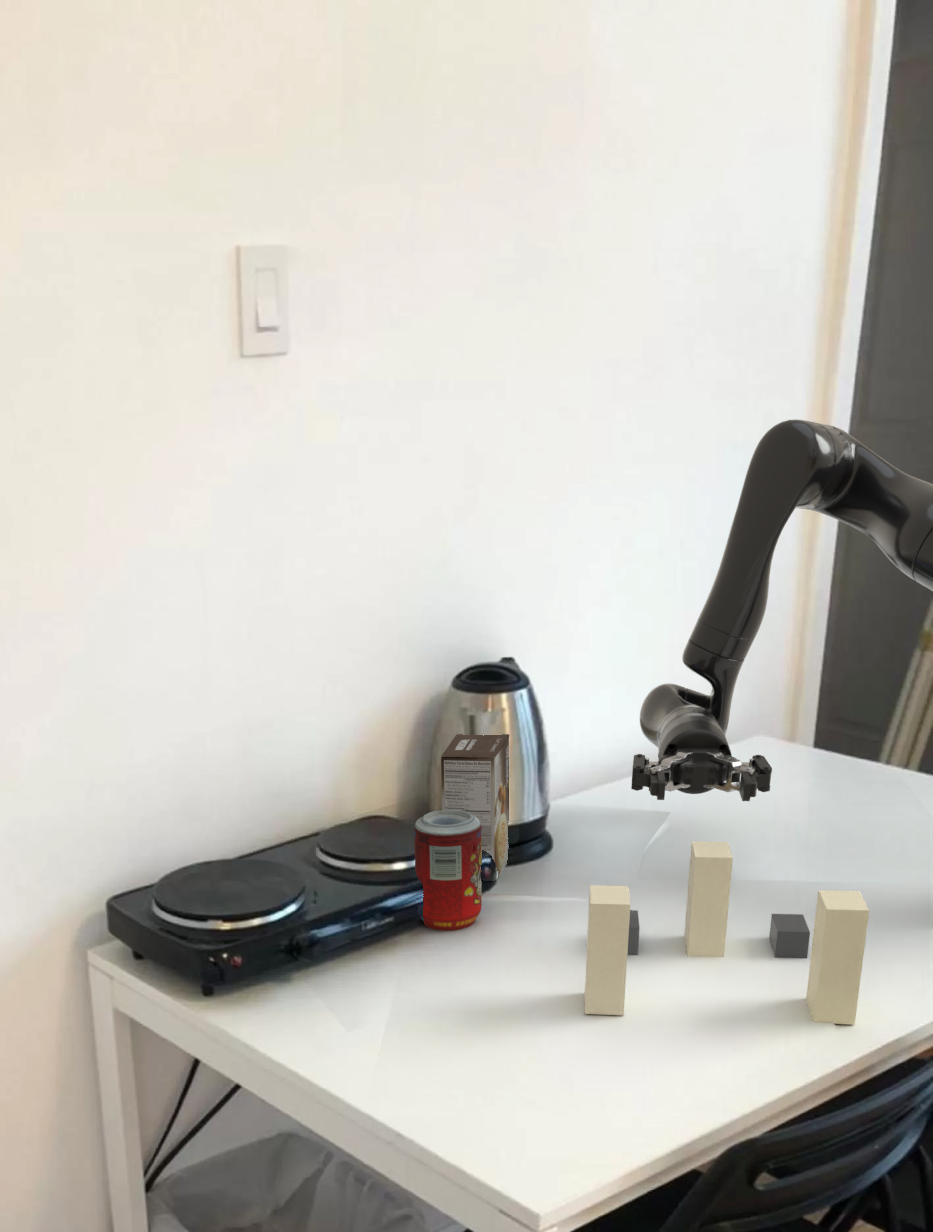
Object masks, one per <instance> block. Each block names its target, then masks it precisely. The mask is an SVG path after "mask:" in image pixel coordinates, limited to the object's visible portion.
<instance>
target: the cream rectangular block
mask: <svg viewBox="0 0 933 1232" xmlns="http://www.w3.org/2000/svg"><path fill="white" fill-rule="evenodd" d="M588 894H589V895H588V913H587V931H586V932H587V935H586V937H587V938H586V955H585V974H584V1014H585V1015H601V1016H602V1015H605V1016H625V1000H626V999H625V997H626V985H627V984H626V983H627V982H626V981H627V966H628V955H627V952H628V935H629V919H630V910H631V897H630V896H631V895H630V888H629V885H595V884H594V885H589V893H588Z"/></svg>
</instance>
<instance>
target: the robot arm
mask: <svg viewBox="0 0 933 1232" xmlns="http://www.w3.org/2000/svg"><path fill="white" fill-rule="evenodd" d="M744 477H745V478H744V481H743V485H742V488H741V492H740V495H739V499H738V502H737V506H736V510H735V513H734V517H733V519H732V523H731V526H730V529H729V533H728V537H727V539H726V540H727V541H726V544H725V547H724V550H723V553H722V557H721V560H720V563H719V567H718V569H717V573H716V575H715V577H714V581H713V583H712V585H711V588H710V591H709V593H708V596H707V598H706V600H705V602H704V605H703V607H702V609H701V611H700V613H699V615H698V618H697V620H696V623H695V625H694V627H693V629H692V631H691V633H690V636H689V638H688V639H687V642H686V644H685V647H684V649H683V652H682V657H681V659H682V660H681V661H682V663H683V665H684V666H685V667H686V668H687V669H689V670H690V671H691V672H693V673H694V674H696V675H697V676H700V677H701V678H703V679H704V680H706V681H707V682H708V683H709V684H710V686H711V692H710V694H705V693H702V692H699V691H696V690H693V689H691V688H688V687H685V686H682V685H679V684H677V683H676V684H675V683H671V682H668V683H667V682H665V683H661V684H659V685H656V687H654V688H652V689H651V690H650V691H649V692H648V693H647V695H646V696H645V698H644V700H643V702H642V704H641V707H640V711H639V727H640V730H641V732H642V734H643V736H644V737H645V738H646V739H647V740H648V741H649V742H650V743H651V744H652V745H654V746H655V747H656V748H658V753H657V757H658V761H650V758H649V757H646V754H642V753H637V754H634V755H633V761H632V770H631V771H632V772H631V773H632V774H631V787H630V788H631V790H633V791H641V790H643V789H644V787H646V788H648V792H649V795H650V796H652V797H656V801H665V798H666V797H665V795H666V792H670V793H671V792H674V791H676V790H677V791H679V792H681V793H684V794H689V795H700V794H704V793H707V792H710V791H712V790H714V789H716V790H719V791H723V792H725V793H731V792H738V793H739V796H740V798H741V801H742V802H751V798H756V796H757V791H758V792H761V793H767V792H770V791H771V779H772V773H773V767H772V766H771V765H770V762H768V760H767V759H766V757H765V755H761V754H755V755H752V758H749V761H748V762H747V761H746V762H745V761H741V760H740V759H738V758H737V757H735V756H733V755H732V751H731V748H730V746H729V743H728V740H727V737H726V734H727V732H728V731H727V730H728V727H729V721H730V714H731V708H732V701H733V695H734V691H735V688H736V684H737V680H738V678H739V674H740V671H741V669H742V666H743V665H744V662H745V660H746V657H747V656H748V654H749V651H750V649H751V647H752V646H753V643H754V641H755V639H756V637H757V635H758V633H759V630H760V628H761V625H762V623H763V620H764V617H765V613H766V609H767V605H768V599H769V598H768V597H769V589H770V575H771V569H772V562H773V557H774V553H775V550H776V547H777V544H778V541H779V538H780V537H781V534H782V533H783V530H784V528H785V526H786V524H787V522H788V521H789V519H790V517H791V516H792V514H793V513H794V511H795V509H802V510H808V511H812V512H815V513H816V512H817V513H819V514H822V515H825V516H827V517H830V518H832V519H834V520H837V521H839V522H841V523H843V524H845V525H848V526H850V527H852V528H854V529H856V530H857V531H859V532H861V533H863V534H864V535H865V536H867V537H868V538H870V540H872V541H873V542H874V543H875V544H876V545H877V547H879V549H880V550H881V551H882V553H883V554H884V555H885V556H886V558H887V559H888V560H889V561H890V562H891V563H892V564H893V565H894V566H895V567H896V568H897V569H899V571H900V572H902V573H903V574H904V575H905V576H907V577H908V578H910V579H911V580H913V581H915V582H916V583H918V584H920V585H921V586H923V587H925V588H926V589H928V590H930V591H931V592H933V483H931V482H928V481H926V480H923V479H920V478H918V477H915V476H912V475H911V474H907V473H906V472H904V471H902V470H901V469H899V468H897V467H896V466H894V465H892V464H891V463H890V462H888V461H887V460H885V459H884V458H883V457H881V456H880V455H879V454H877V453H875V451H873V450H872V449H870V448H868V447H867V446H866V445H864V444H863V443H862V442H861V441H859V440H858V439H857V438H855V437H854V436H852V435H851V434H850V433H848V432H847V431H845V430H843V429H842V428H839V427H836V426H834V425H830V424H825V423H820V422H819V423H818V422H815V421H810V420H805V419H787V420H783V421H781V422H779V423H776V424H775V425H773V426H772V427H771V428H770V429H768V430H767V431H766V432H765V434H764V435H763V436H762V437H761V439H760V440H759V441H758V443H757V444H756V446H755V449H754V451H753V454H752V456H751V458H750V461H749V464H748V468H747V470H746V474H745V476H744Z"/></svg>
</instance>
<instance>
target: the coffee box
mask: <svg viewBox="0 0 933 1232" xmlns="http://www.w3.org/2000/svg"><path fill="white" fill-rule="evenodd" d="M463 734H464V733H457V734H455V735H454V737H453V739H451V741H450V743H449V744H448V745H447V747H446V749H445V750H444V752H443V753H442V754H441V756H440V780H441V781H440V782H441V783H440V785H441V786H440V787H441V811H442V810H450V809H456V810H461V811H466V812H470V813H471V814H472V815H474V816H475V817H477V818H478V819H479V820H480V822H481V826H482V830H481V834H482V843H481V848H482V850H484V851H486V852H487V853H489V854H490V855H491V856H492V859H493V860H494V862H495V863H496V867H497V871H498V878H497V880H496V882H497V881H498V880H499V878H500V877H501V875H502V874H503V872H504V870H505V868H506V866H507V865H508V863H507V860H508V849H509V850H510V848H509V844H508V843H509V842H508V839H509V838H508V823H509V822H508V821H509V758H510V733H501V734H502V735H484V736H483V735H463Z"/></svg>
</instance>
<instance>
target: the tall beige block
mask: <svg viewBox="0 0 933 1232" xmlns="http://www.w3.org/2000/svg"><path fill="white" fill-rule="evenodd" d="M733 860H734V857H733V854H732V850H731V847H730V844H729V841H694V840H693V841H691V842H690V856H689V867H688V868H689V869H688V879H687V880H688V881H687V894H686V905H685V906H686V908H685V919H684V933H683V934H684V935H683V937H684V945H685V951H686V956H687V957H701V958H702V957H703V958H705V957H707V958H708V957H709V958H710V957H711V958H724V957H725V952H726V941H727V939H726V938H727V929H728V928H727V927H728V917H729V916H728V915H729V905H730V894H731V883H732V882H731V881H732V873H733V872H732V871H733V862H734V861H733Z"/></svg>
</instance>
